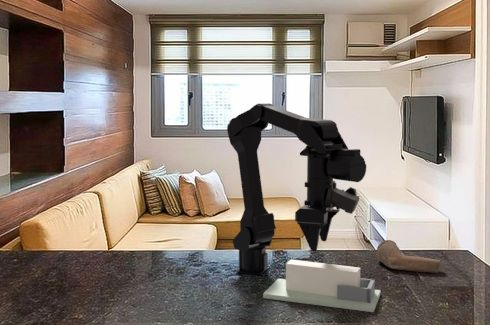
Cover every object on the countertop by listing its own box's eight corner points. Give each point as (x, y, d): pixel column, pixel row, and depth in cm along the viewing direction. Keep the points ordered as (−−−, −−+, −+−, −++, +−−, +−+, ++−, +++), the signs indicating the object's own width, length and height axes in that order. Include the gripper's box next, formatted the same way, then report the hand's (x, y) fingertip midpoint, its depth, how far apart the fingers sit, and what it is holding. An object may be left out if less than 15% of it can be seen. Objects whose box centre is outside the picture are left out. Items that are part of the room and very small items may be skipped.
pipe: (443, 257, 132) (441, 241, 141) (374, 252, 137) (376, 237, 146) (442, 281, 133) (440, 263, 143) (373, 275, 138) (376, 258, 147)
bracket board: (263, 298, 118) (263, 280, 118) (278, 282, 128) (278, 266, 128) (373, 312, 110) (374, 293, 109) (380, 294, 120) (380, 277, 119)
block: (285, 289, 121) (285, 263, 120) (291, 284, 124) (291, 259, 123) (356, 299, 114) (356, 272, 113) (360, 294, 117) (360, 267, 116)
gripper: (348, 185, 107) (346, 261, 108) (363, 173, 124) (362, 239, 126) (294, 182, 111) (294, 255, 112) (316, 171, 128) (315, 235, 130)
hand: (319, 246), depth 120 cm, fingers open, 9 cm apart
